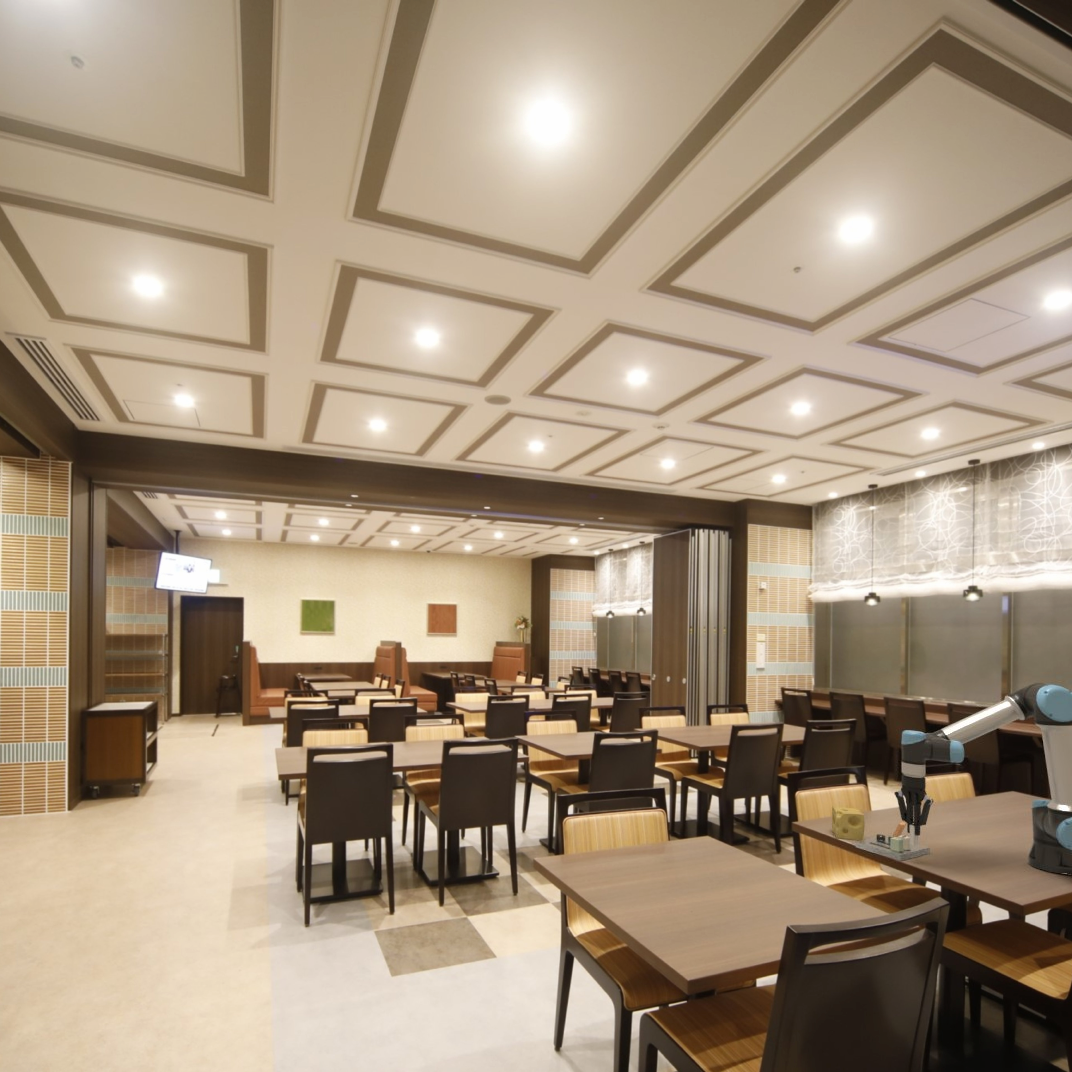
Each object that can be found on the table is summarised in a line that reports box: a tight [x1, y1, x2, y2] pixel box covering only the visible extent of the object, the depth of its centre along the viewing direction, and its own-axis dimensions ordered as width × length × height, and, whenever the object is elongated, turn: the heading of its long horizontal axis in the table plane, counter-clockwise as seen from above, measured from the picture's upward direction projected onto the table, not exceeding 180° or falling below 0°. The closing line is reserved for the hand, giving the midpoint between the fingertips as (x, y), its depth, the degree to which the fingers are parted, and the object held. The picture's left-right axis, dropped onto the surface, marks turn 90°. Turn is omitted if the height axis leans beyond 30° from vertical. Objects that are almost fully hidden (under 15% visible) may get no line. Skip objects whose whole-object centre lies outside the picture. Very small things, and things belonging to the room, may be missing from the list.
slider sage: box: [890, 836, 903, 852], centre depth 251 cm, size 3×3×4 cm
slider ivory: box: [898, 834, 911, 850], centre depth 253 cm, size 3×3×4 cm
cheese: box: [831, 806, 866, 841], centre depth 274 cm, size 10×11×10 cm
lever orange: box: [892, 821, 907, 837], centre depth 261 cm, size 1×3×8 cm, turn 122°
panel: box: [854, 833, 931, 862], centre depth 258 cm, size 17×20×4 cm
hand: (913, 844), depth 246 cm, fingers closed
